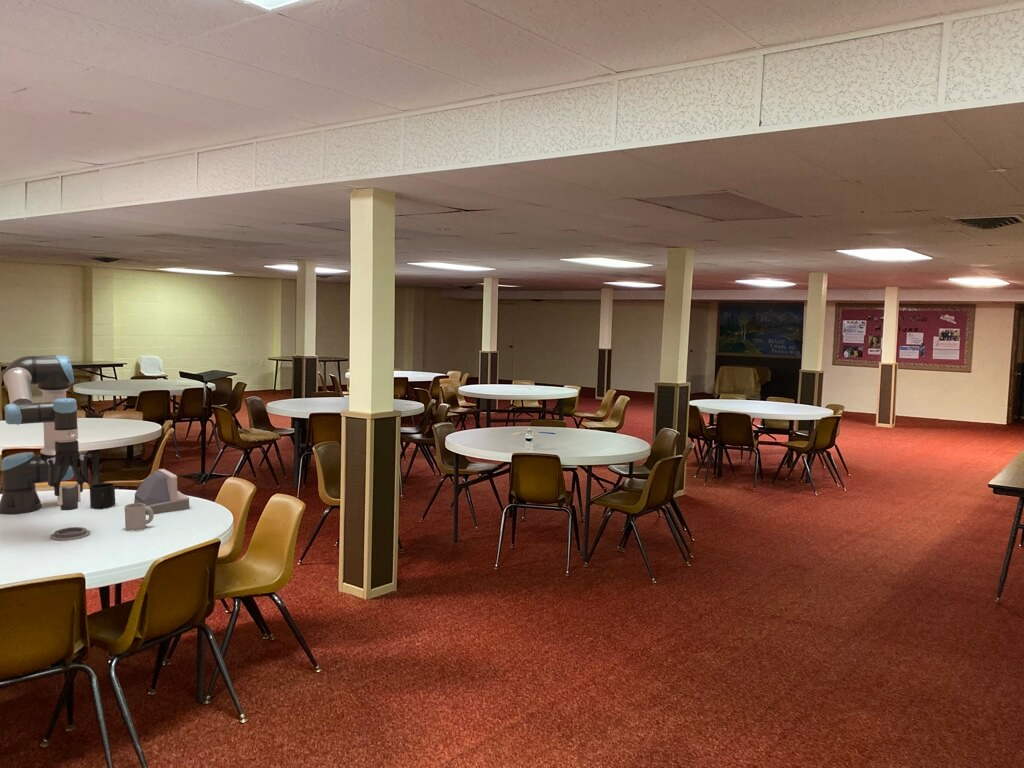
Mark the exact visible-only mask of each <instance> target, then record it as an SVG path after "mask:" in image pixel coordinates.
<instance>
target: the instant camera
mask: <svg viewBox="0 0 1024 768" xmlns="http://www.w3.org/2000/svg"><path fill="white" fill-rule="evenodd" d="M133 501H134V502H133V504H134V503H143V504H145V507H150V508H151V509H152V510H153V513H154V515H159V514H166V513H171V512H173V513H174V512H178V511H179V512H180V511H184V510H190V497H189V496H188V495H186V494H184V493H182V492H181V491H180V490H178V476H177V475H176V474H174V473H173V472H171V471H169V470H168V469H167V470H166V469H165V468H160V469H159V468H158V469H157V470H155V471H151V473H150V475H149V476H148V477H145V478H144V479H143V481H142V482H141V484H140V485H139V487H137V490H136V491H135V493H134V500H133ZM146 516H149V512H148V511H146Z"/></svg>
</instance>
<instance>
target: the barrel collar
mask: <svg viewBox="0 0 1024 768" xmlns="http://www.w3.org/2000/svg"><path fill="white" fill-rule="evenodd" d="M90 535H91V531H90V530H89V529H87V528H86V527H83V526H82V527H81V526H80V527H79V526H75V527H74V526H73V527H71V526H70V527H66V528H60V529H57V530H55V531H54V532H53V533H52V534H50V536H49V538H50V539H51V540H53V541H72V540H79V539H83V538H86V537H88V536H90Z"/></svg>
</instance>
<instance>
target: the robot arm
mask: <svg viewBox="0 0 1024 768" xmlns="http://www.w3.org/2000/svg"><path fill="white" fill-rule="evenodd" d="M2 376H3V377H2V381H3V382H4V385H5V386H6V387H7V393H8V400H9V403H8V404H6V405H5V406H4V417H5V423H6V424H7V425H26V424H28V425H29V424H42V425H43V447H42V448H41V449H40V451H39V455H38V454H37V455H36V454H35V453H34V452H33V451H28V452H27V451H23V452H18V453H14V454H10V455H6V456H5V457H3V459H2V460H1V469H0V471H1V475H2V479H1V480H2V494H1V498H0V514H6V515H15V514H25V513H31V512H34V511H39V510H40V509H42V502H41V499H40V497H39V494H38V492H37V489H36V488H37V487H36V484H40V483H47V484H48V486H49V487H53V491H54V492H53V493H54V496H55V497H56V498H57V505H59V506H61V505H63V501H62V486H61V482H63V481H69V480H72V479H73V478H75V481H76V483H74V485H75V486H77V496H78V503H80V502H82V501H81V499H82V498H81V497H82V496H81V493H83V489H84V487H83V484H85V483H86V482H88V481H89V477H88V475H89V474H88V464H87V460H88V457H89V456H88V455H86V454H81V453H80V451H79V440H78V439H79V433H78V432H79V431H78V430H79V429H78V427H79V426H78V405H77V403H78V402H77V400H76V398H71V397H67V391H68V390H69V389H71V385H72V384H74V383H75V376H74V370H73V366H72V362H71V360H70V358H69V356H67V355H57V354H54V355H27V356H22V357H19V358H17V359H14V360H13V361H12V362H10V364H8V365H7V366H6V368H5V369H4V371H3V374H2ZM31 385H37V389H38V390H39V391H40V392H41V393H42V402H34V400H33V399H34V398H33V393H32V389H31V388H32V387H31ZM78 459H79V461H80V470H79V467H78V463H77V462H78ZM80 471H81V473H80Z"/></svg>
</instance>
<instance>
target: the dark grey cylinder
mask: <svg viewBox="0 0 1024 768" xmlns="http://www.w3.org/2000/svg"><path fill="white" fill-rule="evenodd" d="M61 487H62V501H63V505H60V511H72V510H77V509H78V508H79V502H78V496H77V486H75V484H73V485H71V484H68V485H63V486H61Z"/></svg>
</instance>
